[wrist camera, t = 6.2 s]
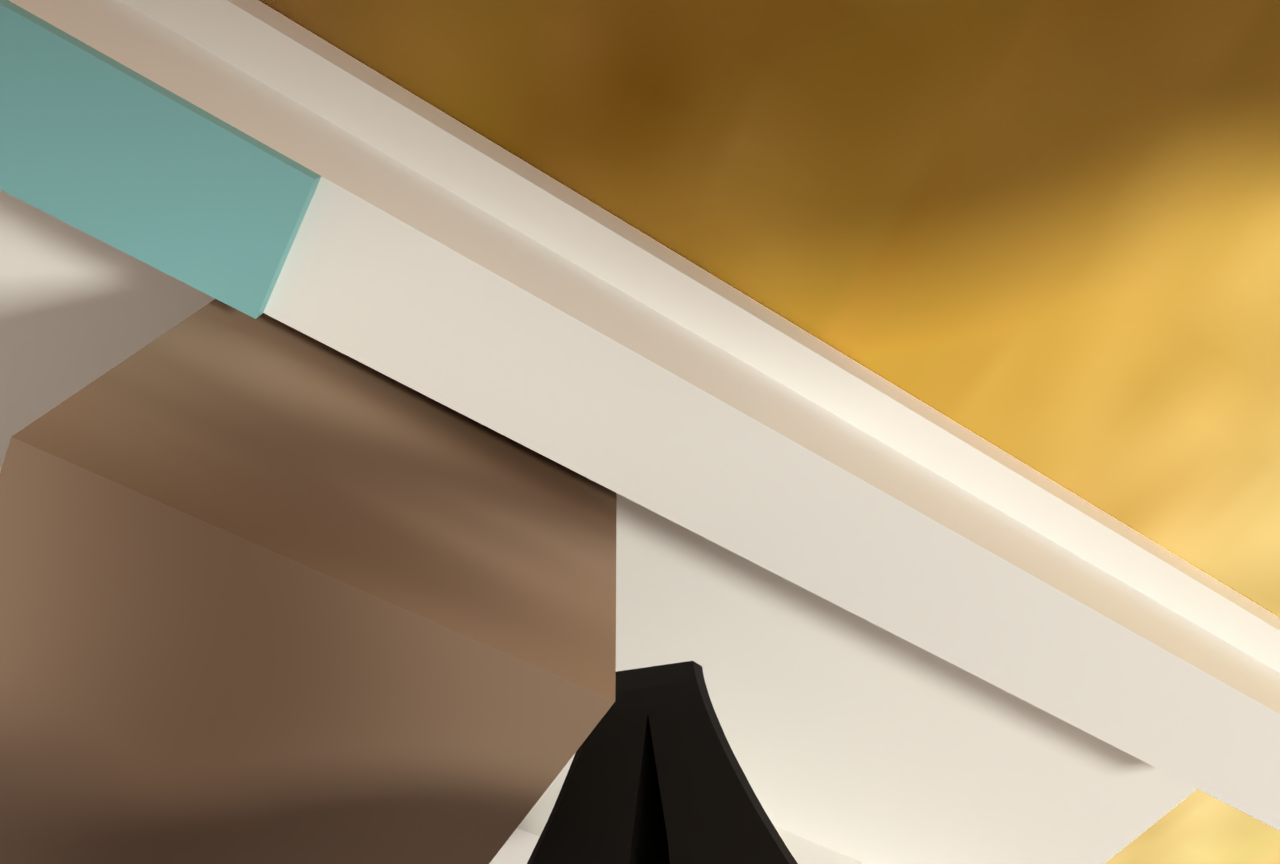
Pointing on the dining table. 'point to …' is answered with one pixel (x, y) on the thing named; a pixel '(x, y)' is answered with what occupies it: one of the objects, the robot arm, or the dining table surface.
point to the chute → (641, 441)
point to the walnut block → (288, 614)
